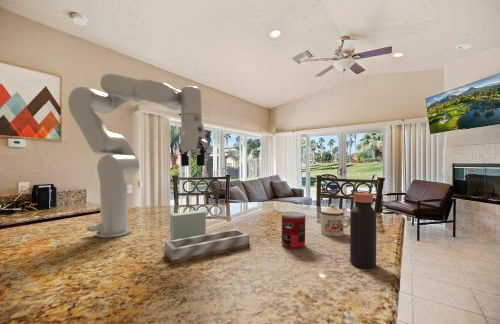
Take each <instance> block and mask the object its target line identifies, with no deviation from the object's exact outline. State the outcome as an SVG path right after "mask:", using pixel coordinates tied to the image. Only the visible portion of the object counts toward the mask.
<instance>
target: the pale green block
mask: <svg viewBox="0 0 500 324" xmlns="http://www.w3.org/2000/svg"><path fill="white" fill-rule="evenodd" d="M169 214H170V221H169V222H170V223H169V224H170V227H169V228H170V230H169V231H170V233H169V235H170V236H169V237H170V240H169V241H171V240H177V239H183V238H188V237H194V236H200V235H205V234H206V233H207V230H206V228H207V225H206V224H207V221H206V220H207V219H206V218H207V217H206V216H207V214H206V211H204V210H202V209H201V210H199V209H198V210H193V211H184V212H182V211H181V212H176V213H175V212H174V213H169Z"/></svg>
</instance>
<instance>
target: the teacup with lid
mask: <svg viewBox="0 0 500 324" xmlns="http://www.w3.org/2000/svg"><path fill="white" fill-rule="evenodd" d="M344 218H348V223H347V224H346V225H345V223H344V222H345V220H344ZM349 227H350V215H347V214H345V211H344V210H343V209H340V208H338V207H337V206H336V205H335V204H334V203H330V204H329V206H327V207H325V208H322V209H321V210H320V233H321V234H322V235H323V236H328V237H342V236H344V235H345V234H344V232H345V231H344V229H346V228H349Z"/></svg>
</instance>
